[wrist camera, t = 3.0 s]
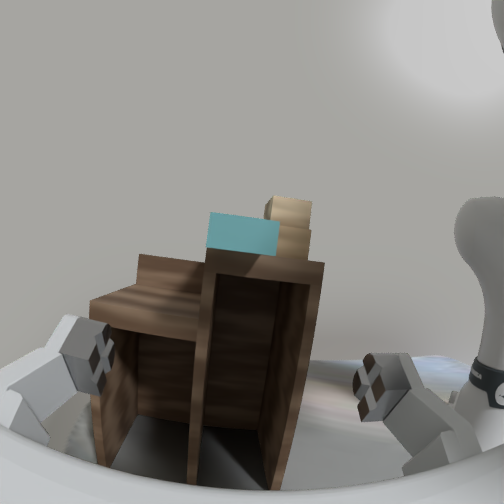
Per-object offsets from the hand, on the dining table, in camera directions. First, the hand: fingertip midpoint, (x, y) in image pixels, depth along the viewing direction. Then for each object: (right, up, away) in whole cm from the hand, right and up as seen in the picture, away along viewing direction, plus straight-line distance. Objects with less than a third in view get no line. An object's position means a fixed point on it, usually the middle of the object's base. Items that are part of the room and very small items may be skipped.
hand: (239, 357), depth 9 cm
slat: (-1, +3, +20) cm, 20 cm away
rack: (-7, -22, +24) cm, 34 cm away
